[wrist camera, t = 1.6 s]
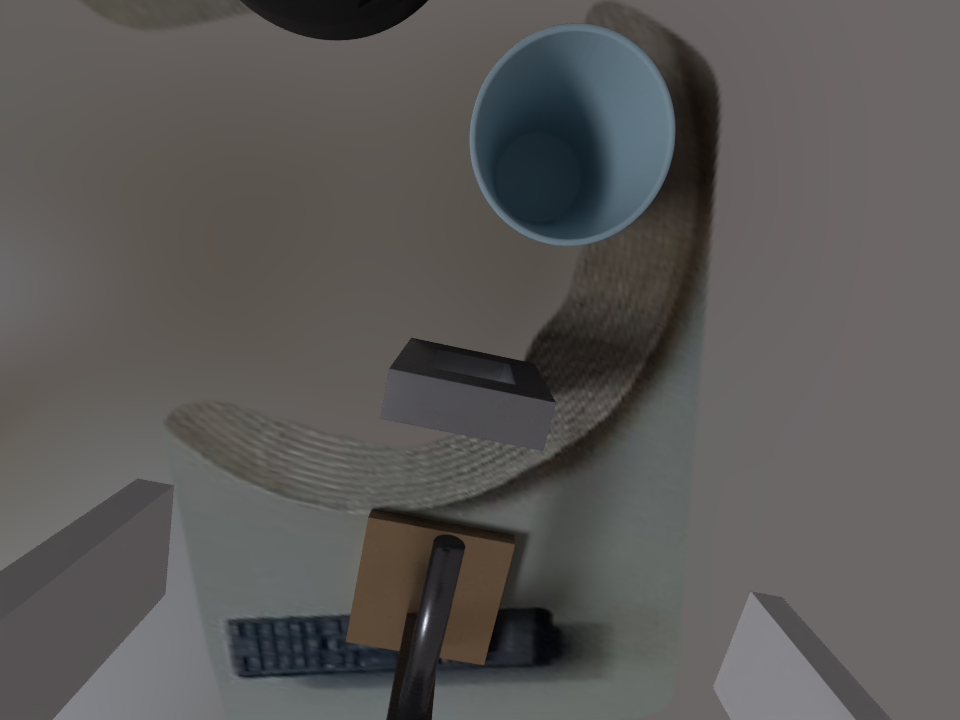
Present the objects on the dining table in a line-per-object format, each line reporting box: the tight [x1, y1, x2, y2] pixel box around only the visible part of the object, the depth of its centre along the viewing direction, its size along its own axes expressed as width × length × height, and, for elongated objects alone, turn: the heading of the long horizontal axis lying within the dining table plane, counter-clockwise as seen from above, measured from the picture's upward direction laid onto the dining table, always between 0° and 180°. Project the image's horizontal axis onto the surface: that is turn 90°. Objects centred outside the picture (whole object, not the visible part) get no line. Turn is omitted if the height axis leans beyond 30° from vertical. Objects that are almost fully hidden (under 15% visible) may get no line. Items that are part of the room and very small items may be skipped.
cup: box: [470, 23, 676, 246], centre depth 23 cm, size 8×8×10 cm
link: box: [380, 338, 556, 451], centre depth 26 cm, size 2×8×8 cm, turn 78°
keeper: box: [346, 510, 515, 720], centre depth 28 cm, size 14×10×10 cm
